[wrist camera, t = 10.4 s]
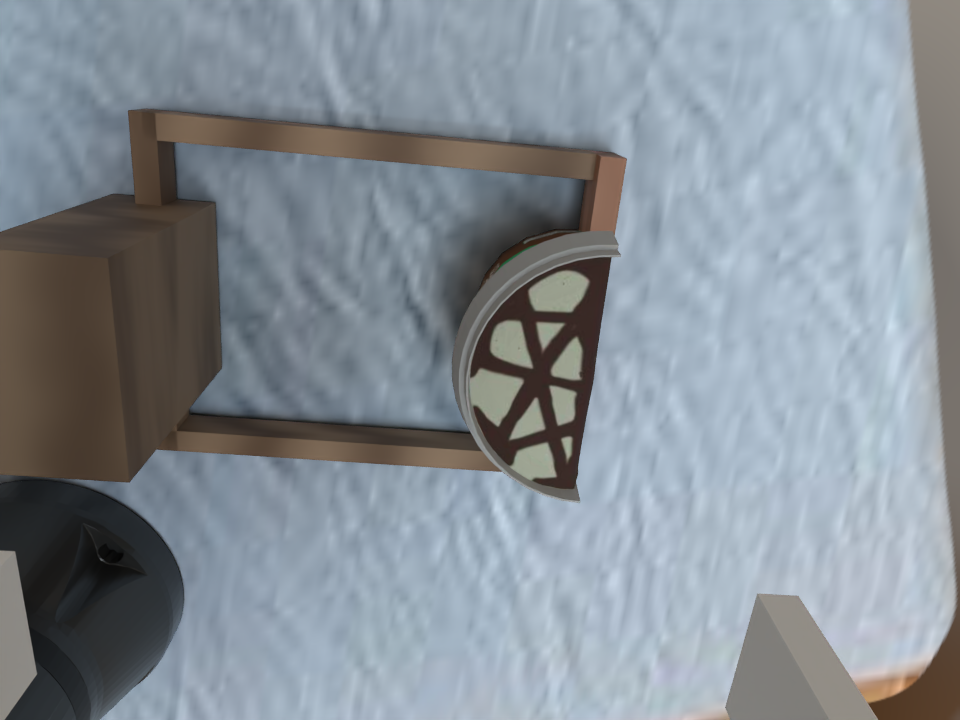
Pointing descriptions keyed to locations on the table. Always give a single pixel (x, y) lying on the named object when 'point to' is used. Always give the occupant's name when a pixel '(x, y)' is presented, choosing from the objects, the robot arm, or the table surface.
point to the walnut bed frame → (193, 308)
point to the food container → (535, 356)
